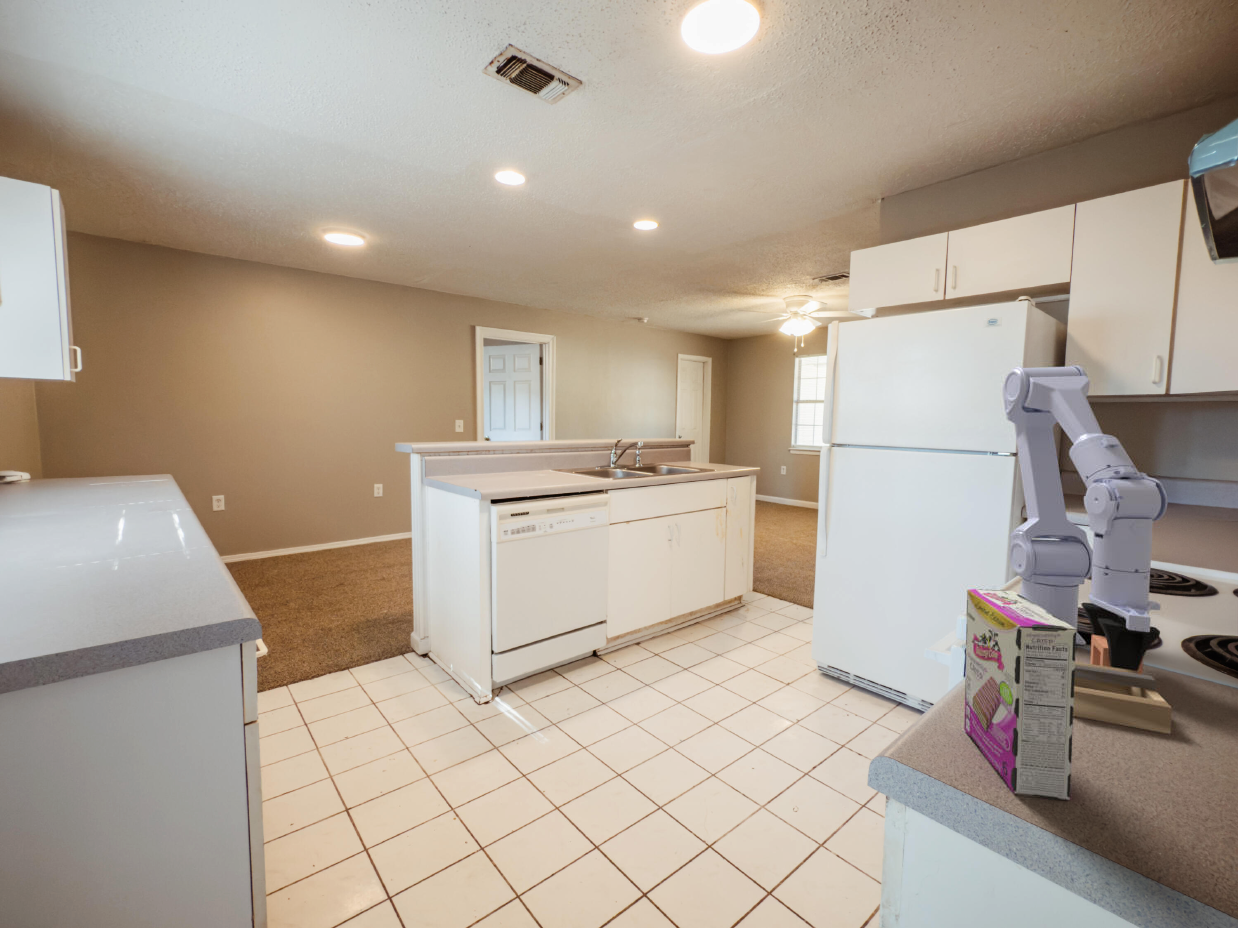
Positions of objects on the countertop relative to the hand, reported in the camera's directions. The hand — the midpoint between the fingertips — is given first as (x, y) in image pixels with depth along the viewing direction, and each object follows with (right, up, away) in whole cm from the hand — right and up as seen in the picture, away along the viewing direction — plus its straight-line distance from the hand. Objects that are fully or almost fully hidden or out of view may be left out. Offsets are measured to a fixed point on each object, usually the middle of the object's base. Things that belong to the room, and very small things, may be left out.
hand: (1115, 665), depth 73 cm
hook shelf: (-8, -2, -7) cm, 11 cm away
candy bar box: (-28, -3, -19) cm, 34 cm away
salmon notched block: (0, -1, 0) cm, 1 cm away
